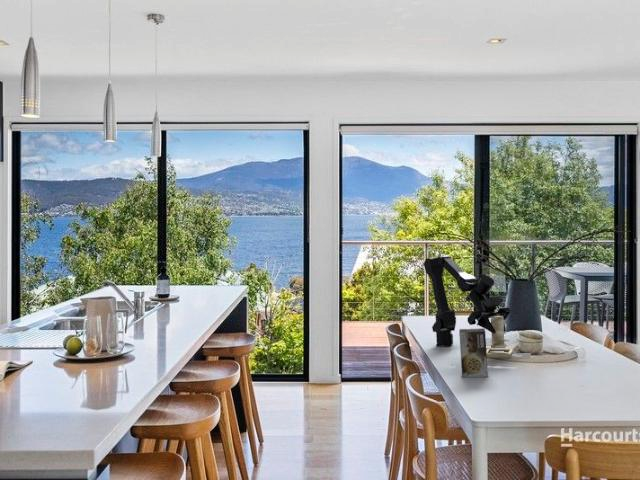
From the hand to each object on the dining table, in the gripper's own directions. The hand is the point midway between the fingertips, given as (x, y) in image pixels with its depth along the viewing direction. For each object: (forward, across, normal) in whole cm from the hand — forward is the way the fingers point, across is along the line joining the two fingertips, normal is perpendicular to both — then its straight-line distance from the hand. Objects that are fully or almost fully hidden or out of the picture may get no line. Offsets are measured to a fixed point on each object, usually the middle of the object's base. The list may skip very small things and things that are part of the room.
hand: (500, 332), depth 264 cm
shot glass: (-15, +26, +30) cm, 42 cm away
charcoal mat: (+3, +4, +11) cm, 12 cm away
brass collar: (+6, 0, +7) cm, 9 cm away
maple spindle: (+3, 0, +5) cm, 6 cm away
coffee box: (+20, -28, -5) cm, 34 cm away
